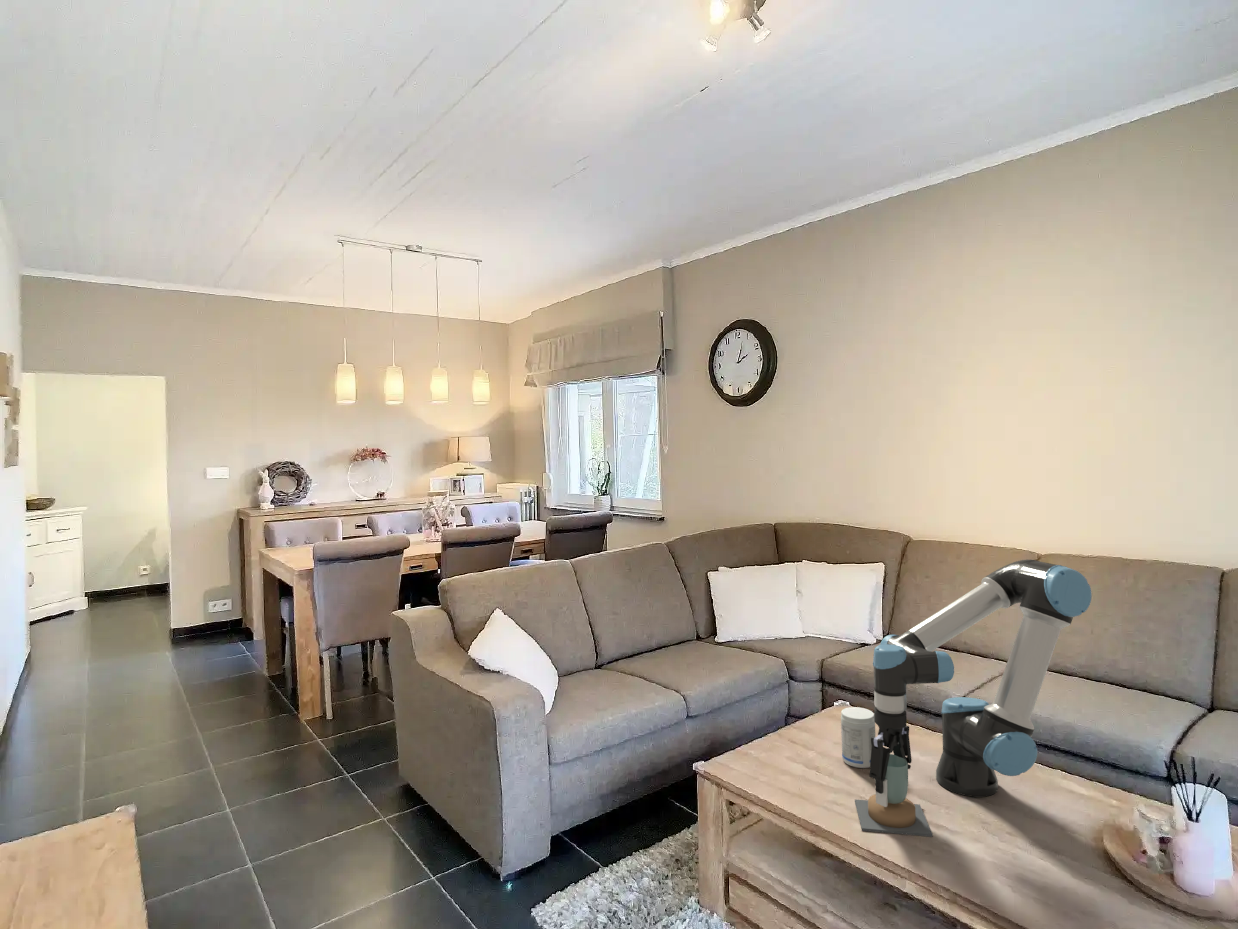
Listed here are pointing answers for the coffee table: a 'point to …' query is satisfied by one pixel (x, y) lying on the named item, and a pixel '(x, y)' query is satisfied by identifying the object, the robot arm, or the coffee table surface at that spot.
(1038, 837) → the coffee table surface
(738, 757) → the coffee table surface
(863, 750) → the supplement tub
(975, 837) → the coffee table surface
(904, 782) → the cup
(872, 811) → the stand
